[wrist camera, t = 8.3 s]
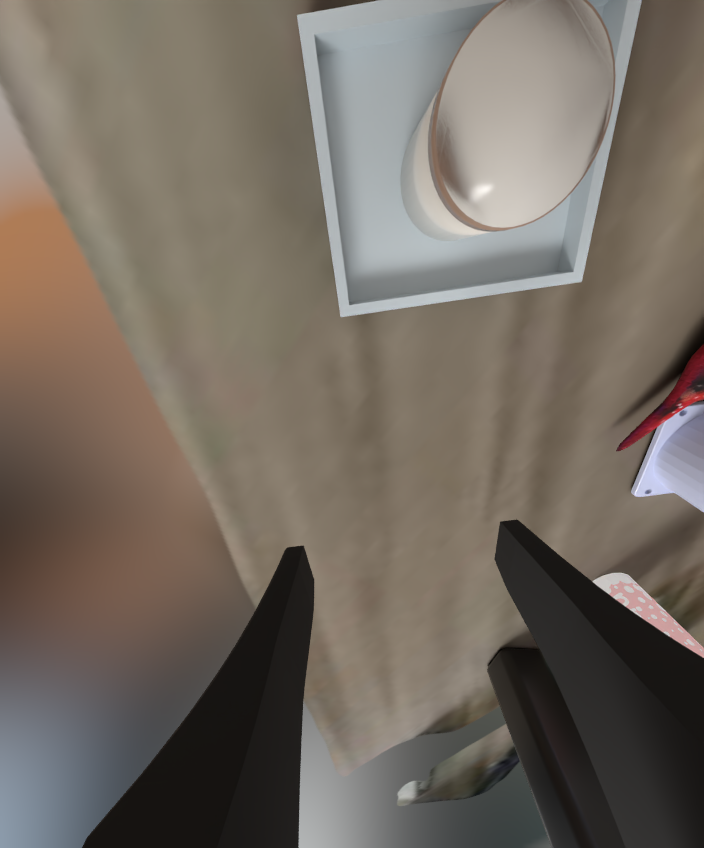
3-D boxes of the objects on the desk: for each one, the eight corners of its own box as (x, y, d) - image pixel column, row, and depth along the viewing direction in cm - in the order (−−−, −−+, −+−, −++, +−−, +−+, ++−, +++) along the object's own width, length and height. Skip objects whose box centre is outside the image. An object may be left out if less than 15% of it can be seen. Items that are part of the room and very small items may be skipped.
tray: (604, -1, 12) (652, -49, 10) (555, 279, 16) (581, 281, 15) (303, 51, 12) (297, 15, 10) (340, 311, 17) (340, 317, 15)
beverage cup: (634, 559, 28) (863, 786, 16) (643, 590, 31) (846, 808, 18) (570, 583, 30) (734, 809, 17) (583, 611, 32) (735, 826, 20)
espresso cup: (518, 86, 12) (640, -36, 7) (506, 233, 14) (591, 215, 10) (395, 109, 12) (432, 5, 7) (403, 250, 15) (435, 241, 10)
